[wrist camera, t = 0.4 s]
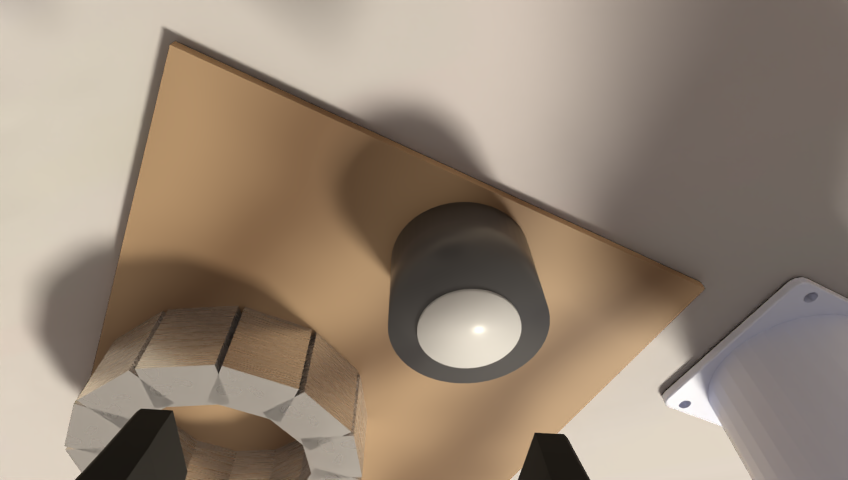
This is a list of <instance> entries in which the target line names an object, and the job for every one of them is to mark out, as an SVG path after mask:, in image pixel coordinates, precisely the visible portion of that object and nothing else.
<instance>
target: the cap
mask: <svg viewBox="0 0 848 480" xmlns="http://www.w3.org/2000/svg"><path fill="white" fill-rule="evenodd" d="M549 326H550V314H549V308H548V305H547V302H546V299H545V296H544V293H543V289H542V286H541V283H540V280H539V277H538V274H537V270H536V267H535V264H534V261H533V258H532V255H531V251H530V248H529V245H528V242H527V239H526V236H525V235H524V233H523V231H522V229H521V228H520V227H519V225H518V224H517V223H516V222H515V221H514V220H513V219H512V218H511V217H509V216H508V215H507V214H505V213H504V212H502V211H500V210H498V209H496V208H494V207H491V206H488V205H484V204H480V203H473V202H454V203H448V204H443V205H439V206H436V207H434V208H431V209H429V210H427V211H425V212H423V213H421V214H420V215H418V216H417V217H415V218H414V219H413V220H411V221H410V222H409V223H408V224H407V225H406V226H405V227H404V229H403V230H402V231H401V233H400V234H399V236H398V237H397V239H396V242H395V244H394V247H393V250H392V258H391V276H390V295H389V314H388V335H389V339H390V342H391V345H392V347H393V349H394V351H395V352H396V354H397V355H398V356H399V358H400V359H401V360H402V361H403V362H404V363H405V364H406V365H407V366H409V367H410V368H412V369H413V370H415V371H416V372H418V373H420V374H422V375H424V376H427V377H429V378H432V379H435V380H439V381H444V382H449V383H478V382H484V381H489V380H493V379H496V378H499V377H502V376H505V375H507V374H509V373H511V372H513V371H515V370H517V369H518V368H520V367H522V366H523V365H524V364H526V363H527V362H528V361H529V360H531V359H532V358H533V357H534V356H535V355H536V353H537V352H538V351H539V350H540V348H541V347H542V345H543V343H544V342H545V340H546V337H547V334H548V331H549Z"/></svg>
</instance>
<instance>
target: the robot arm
mask: <svg viewBox="0 0 848 480" xmlns="http://www.w3.org/2000/svg"><path fill="white" fill-rule="evenodd" d="M662 398H663V400H664V402H665V405H666V406H668V407H670V408H673V409H675V410H678V411H681V412H684V413H686V414H689V415H692V416H694V417H697V418H700V419H703V420H705V421H708V422H711V423H714V424H716V425H719V426H722V427H723V428H724V430H725V432H726V434H727V436H728V437H729V439H730V441H731V443H732V444H733V446H734V448H735V450H736V451H737V453H738V455H739V457H740V459H741V460H742V462H743V464H744V466H745V467H746V469H747V471H748V473H749V475H750V476H751V478H752V480H848V298H845V297H843V296H841V295H839V294H837V293H835V292H833V291H831V290H829V289H827V288H825V287H823V286H821V285H819V284H817V283H815V282H813V281H811V280H809V279H807V278H804V277H800V278H795V279H792V280H790V281H789V282H787V283H786V284H785V285H784V286H783V287H782V288H781V289H780V290H778V291H777V292H776V293H775V294H774V295H773V296H772V297H771V298H770V299H768V300H767V301H766V302H765V303H764V304H763V305H762V306H761V307H759V308H758V309H757V310H756V311H755V312H754V313H753V314H752V315H750V316H749V317H748V318H747V319H746V320H745V321H744V322H743V323H741V324H740V325H739V326H738V327H737V328H736V329H735V330H734V331H732V332H731V333H730V334H729V335H728V336H727V337H726V338H725V339H723V340H722V341H721V342H720V343H719V344H718V345H717V346H716V347H714V348H713V349H712V350H711V351H710V352H709V353H708V354H707V355H706V356H704V357H703V358H702V359H701V360H700V361H699V362H698V363H697V364H695V365H694V366H693V367H692V368H691V369H690V370H689V371H688V372H686V373H685V374H684V375H683V376H682V377H681V378H680V379H679V380H677V381H676V382H675V383H674V384H673V385H672V386H671V387H670V388H668V389H667V390H666V391H665V392H664V394H663V396H662ZM186 476H187V468H186V464H185V459H184V455H183V451H182V447H181V442H180V438H179V434H178V430H177V425H176V421H175V417H174V413H173V410H158V409H142V408H141V409H140V410H138V411H137V412H136V413H135V414H134V415H133V416H132V417H131V418H130V419H129V421H128V422H127V423H126V424H125V425H124V426H123V427H122V429H121V430H120V431H119V432H118V433H117V434H116V435H115V436H114V438H113V439H112V440H111V441H110V442H109V443H108V444H107V445H106V447H105V448H104V449H103V450H102V451H101V452H100V453H99V454H98V455H97V457H96V458H95V459H94V460H93V461H92V462H91V463H90V464H89V465H88V466H87V467H86V469H85V470H84V471H83V472H82V473H81V474H80V475H79V476H78V477H77V478H76V479H75V480H185V479H186ZM518 480H590V479H589V477H588V475H587V473H586V472H585V470H584V468H583V466H582V464H581V462H580V461H579V459H578V457H577V455H576V453H575V451H574V449H573V448H572V446H571V444H570V442H569V440H568V438H567V437H566V436H565V435H564V434H551V433H534V436H533V439H532V442H531V445H530V447H529V450H528V453H527V456H526V459H525V462H524V464H523V467H522V470H521V473H520V476H519V478H518Z"/></svg>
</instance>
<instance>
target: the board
mask: <svg viewBox="0 0 848 480" xmlns="http://www.w3.org/2000/svg"><path fill="white" fill-rule="evenodd" d="M454 202H473V203H480V204H484V205H488V206H491V207H494V208H496V209H498V210H500V211H502V212H504V213H505V214H507V215H508V216H509V217H511V218H512V219H513V220H514V221H515V222H516V223H517V224H518V225H519V227H520V228H521V229H522V231H523V233H524V235H525V236H526V239H527V242H528V245H529V248H530V251H531V255H532V258H533V261H534V264H535V267H536V270H537V274H538V277H539V280H540V283H541V286H542V289H543V293H544V296H545V299H546V302H547V305H548V308H549V314H550V326H549V331H548V334H547V337H546V340H545V342H544V343H543V345H542V347H541V348H540V350H539V351H538V352H537V353H536V355H535V356H534V357H533V358H532V359H531V360H529V361H528V362H527V363H526V364H524V365H523V366H522V367H520V368H518V369H517V370H515V371H513V372H511V373H509V374H507V375H505V376H502V377H499V378H496V379H493V380H489V381H484V382H478V383H449V382H444V381H439V380H435V379H432V378H429V377H427V376H424V375H422V374H420V373H418V372H416V371H415V370H413V369H412V368H410V367H409V366H407V365H406V364H405V363H404V362H403V361H402V360H401V359H400V358H399V356H398V355H397V354H396V352H395V351H394V349H393V347H392V345H391V342H390V339H389V335H388V314H389V295H390V276H391V258H392V250H393V247H394V244H395V242H396V239H397V237H398V236H399V234H400V233H401V231H402V230H403V229H404V227H405V226H406V225H407V224H408V223H409V222H410V221H411V220H413V219H414V218H415V217H417V216H418V215H420V214H421V213H423V212H425V211H427V210H429V209H431V208H434V207H436V206H439V205H443V204H448V203H454ZM704 289H705V288H704V286H703V285H702V284H701V282H699V281H697V280H695V279H693V278H690V277H688V276H686V275H684V274H682V273H680V272H677V271H675V270H673V269H671V268H669V267H666V266H664V265H662V264H660V263H658V262H656V261H653V260H651V259H649V258H647V257H645V256H643V255H640V254H638V253H636V252H634V251H632V250H629V249H627V248H625V247H623V246H621V245H619V244H616V243H614V242H612V241H610V240H608V239H605V238H603V237H601V236H599V235H597V234H595V233H592V232H590V231H588V230H586V229H584V228H581V227H579V226H577V225H575V224H573V223H571V222H568V221H566V220H564V219H562V218H560V217H557V216H555V215H553V214H551V213H549V212H547V211H544V210H542V209H540V208H538V207H536V206H534V205H531V204H529V203H527V202H525V201H523V200H520V199H518V198H516V197H514V196H512V195H510V194H507V193H505V192H503V191H501V190H499V189H496V188H494V187H492V186H490V185H488V184H486V183H483V182H481V181H479V180H477V179H475V178H472V177H470V176H468V175H466V174H464V173H462V172H459V171H457V170H455V169H453V168H451V167H448V166H446V165H444V164H442V163H440V162H438V161H435V160H433V159H431V158H429V157H427V156H425V155H422V154H420V153H418V152H416V151H414V150H411V149H409V148H407V147H405V146H403V145H401V144H398V143H396V142H394V141H392V140H390V139H387V138H385V137H383V136H381V135H379V134H377V133H374V132H372V131H370V130H368V129H366V128H363V127H361V126H359V125H357V124H355V123H353V122H350V121H348V120H346V119H344V118H342V117H339V116H337V115H335V114H333V113H331V112H329V111H326V110H324V109H322V108H320V107H318V106H316V105H313V104H311V103H309V102H307V101H305V100H302V99H300V98H298V97H296V96H294V95H292V94H289V93H287V92H285V91H283V90H281V89H278V88H276V87H274V86H272V85H270V84H268V83H265V82H263V81H261V80H259V79H257V78H254V77H252V76H250V75H248V74H246V73H244V72H241V71H239V70H237V69H235V68H233V67H230V66H228V65H226V64H224V63H222V62H220V61H217V60H215V59H213V58H211V57H209V56H207V55H204V54H202V53H200V52H198V51H196V50H193V49H191V48H189V47H187V46H185V45H183V44H180V43H178V42H176V41H175V42H173V43H172V44H170V46H169V51H168V55H167V59H166V63H165V67H164V72H163V76H162V80H161V84H160V88H159V93H158V97H157V101H156V105H155V109H154V114H153V118H152V122H151V126H150V130H149V135H148V139H147V143H146V147H145V151H144V156H143V160H142V164H141V168H140V172H139V177H138V181H137V185H136V189H135V193H134V198H133V202H132V206H131V210H130V214H129V218H128V223H127V227H126V231H125V235H124V239H123V244H122V248H121V252H120V256H119V260H118V265H117V269H116V273H115V277H114V281H113V286H112V290H111V294H110V298H109V302H108V307H107V311H106V315H105V319H104V323H103V328H102V332H101V336H100V340H99V344H98V349H97V353H96V357H95V361H94V365H93V370H92V374H91V376H92V375H93V373H94V372H95V370H96V368H97V367H98V365H99V364H100V362H101V361H102V359H103V358H104V356H105V354H106V353H107V351H108V350H109V348H110V347H111V345H112V343H114V341H115V340H116V339H117V338H119V337H120V336H122V335H124V334H125V333H127V332H129V331H130V330H132V329H134V328H135V327H137V326H139V325H140V324H142V323H144V322H145V321H147V320H148V319H150V318H152V317H153V316H155V315H157V314H158V313H160V312H162V311H164V312H165V313H167V311H168V309H182V308H201V307H220V306H239V308H240V311H241V314H242V312H243V310H244V308H245V307H248V308H251V309H254V310H257V311H260V312H263V313H266V314H269V315H272V316H275V317H278V318H281V319H283V320H286V321H289V322H292V323H295V324H298V325H301V326H304V327H307V328H310V329H312V331H311V335H312V334H314V333H316V332H317V333H318V334H320V335H321V336H322V337H323V338H324V339H325V340H326V341H327V342H328V343H329V344H330V345H331V346H332V347H333V348H334V349H335V350H336V351H337V352H339V353H340V354H341V355H342V356H343V357H344V358H345V359H346V360H347V361H348V362H349V363H350V364H351V365H352V366H353V367H354V368H355V369H357V370H358V375H360V377H361V383H362V388H363V394H364V400H365V405H366V411H367V424H366V437H365V449H364V461H363V473H362V478H361V480H510V479H511V478H512V477H513V476H514V475H515V474H516V473H517V472H518V471H519V470H520V469H521V468H522V467H523V464H524V462H525V459H526V456H527V453H528V450H529V447H530V445H531V442H532V439H533V436H534V433H551V434H557V433H558V432H559V431H560V430H561V429H562V428H563V427H564V426H565V425H566V424H567V423H568V422H569V421H570V420H571V419H572V418H573V417H574V416H575V415H576V414H577V413H579V412H580V411H581V410H582V409H583V408H584V407H585V406H586V405H587V404H588V403H589V402H590V401H591V400H592V399H593V398H594V397H595V396H596V395H597V394H598V393H599V392H600V391H601V390H602V389H603V388H604V387H605V386H606V385H607V384H608V383H609V382H610V381H611V380H612V379H613V378H614V377H615V376H616V375H617V374H618V373H619V372H620V371H621V370H622V369H624V368H625V367H626V366H627V365H628V364H629V363H630V362H631V361H632V360H633V359H634V358H635V357H636V356H637V355H638V354H639V353H640V352H641V351H642V350H643V349H644V348H645V347H646V346H647V345H648V344H649V343H650V342H651V341H652V340H653V339H654V338H655V337H656V336H657V335H658V334H659V333H660V332H661V331H662V330H663V329H664V328H665V327H666V326H667V325H669V324H670V323H671V322H672V321H673V320H674V319H675V318H676V317H677V316H678V315H679V314H680V313H681V312H682V311H683V310H684V309H685V308H686V307H687V306H688V305H689V304H690V303H691V302H692V301H693V300H694V299H695V298H696V297H697V296H698V295H699V294H700V293H701V292H702V291H703V290H704ZM162 410H173V413H174V417H175V421H176V425H177V427H179V428H180V429H182V430H183V431H185V432H186V433H188V434H189V435H191V436H192V437H193V438H195V439H196V440H198V441H201V442H205V443H209V444H213V445H217V446H220V447H224V448H228V449H232V450H235V451H249V450H269V449H278V448H280V447H283V446H285V445H287V444H289V443H291V442H294V441H296V439H295V438H293V437H292V436H291V435H289V434H288V433H287V432H286V431H284V430H283V429H282V428H280V427H279V426H278V425H276V424H275V423H274V422H273V421H271V420H270V419H267V418H264V417H260V416H257V415H253V414H250V413H246V412H243V411H239V410H236V409H232V408H229V407H225V406H222V405H199V406H179V407H165V408H164V409H162Z"/></svg>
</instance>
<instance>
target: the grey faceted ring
mask: <svg viewBox="0 0 848 480" xmlns="http://www.w3.org/2000/svg"><path fill="white" fill-rule="evenodd" d="M311 331H312V329H310V328H307V327H304V326H301V325H298V324H295V323H292V322H289V321H286V320H283V319H281V318H278V317H275V316H272V315H269V314H266V313H263V312H260V311H257V310H254V309H251V308H248V307H245V308H244V310H243V312H242V314H241V311H240V308H239V306H220V307H201V308H182V309H168V311H167V313H165V312H164V311H162V312H160V313H158V314H157V315H155V316H153V317H152V318H150V319H148V320H147V321H145V322H144V323H142V324H140V325H139V326H137V327H135V328H134V329H132V330H130V331H129V332H127V333H125V334H124V335H122V336H120V337H119V338H117V339H116V340H115V341H114V343H112V345H111V347H110V348H109V350H108V351H107V353H106V354H105V356H104V358H103V359H102V361H101V362H100V364H99V365H98V367H97V368H96V370H95V372H94V373H93V375H92V376H91V378H90V379H89V381H88V383H87V384H86V386H85V387H84V389H83V390H82V392H81V393H80V395H79V397H78V398H77V400H76V401H75V403H74V405H73V410H72V414H71V419H70V423H69V428H68V432H67V437H66V441H65V446H66V447H67V448H66V451H67V453H68V454H69V455H70V457H71V458H72V460H73V461H74V463H75V464H76V465H77V467H78V468H79V470H80V471H81V472H83V471H84V470H85V469H86V467H87V466H88V465H89V464H90V463H91V462H92V461H93V460H94V459H95V458H96V457H97V455H98V454H99V453H100V452H101V451H102V450H103V449H104V448H105V447H106V445H107V444H108V443H109V442H110V441H111V440H112V439H113V438H114V436H115V435H116V434H117V433H118V432H119V431H120V430H121V429H122V427H123V426H124V425H125V424H126V423H127V422H128V421H129V419H130V418H131V417H132V416H133V415H134V414H135V413H136V412H137V411H138V410H140V409H141V408H142V409H158V410H162V409H164V408H165V407H179V406H199V405H222V406H225V407H229V408H232V409H236V410H239V411H243V412H246V413H250V414H253V415H257V416H260V417H264V418H267V419H270V420H271V421H273V422H274V423H275V424H276V425H278V426H279V427H280V428H282V429H283V430H284V431H286V432H287V433H288V434H289V435H291V436H292V437H293V438H295V439H296V441H294V442H291V443H289V444H287V445H285V446H283V447H280V448H278V449H269V450H249V451H235V450H232V449H228V448H224V447H220V446H217V445H213V444H209V443H205V442H201V441H198V440H196V439H195V438H193V437H192V436H191V435H189V434H188V433H186V432H185V431H183V430H182V429H180V428H179V427H177V430H178V434H179V438H180V442H181V447H182V451H183V455H184V459H185V464H186V468H187V476H186V479H185V480H361V478H362V473H363V461H364V449H365V437H366V424H367V411H366V405H365V400H364V394H363V388H362V383H361V377H360V375H358V370H357V369H355V368H354V367H353V366H352V365H351V364H350V363H349V362H348V361H347V360H346V359H345V358H344V357H343V356H342V355H341V354H340V353H339V352H337V351H336V350H335V349H334V348H333V347H332V346H331V345H330V344H329V343H328V342H327V341H326V340H325V339H324V338H323V337H322V336H321V335H320V334H318V333H317V332H316V333H314V334H312V335H311Z"/></svg>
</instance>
